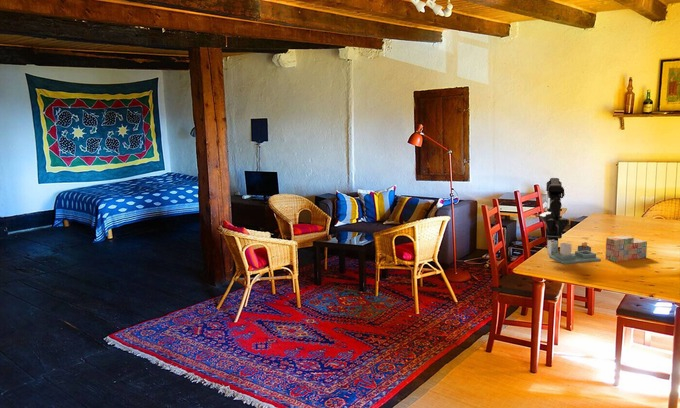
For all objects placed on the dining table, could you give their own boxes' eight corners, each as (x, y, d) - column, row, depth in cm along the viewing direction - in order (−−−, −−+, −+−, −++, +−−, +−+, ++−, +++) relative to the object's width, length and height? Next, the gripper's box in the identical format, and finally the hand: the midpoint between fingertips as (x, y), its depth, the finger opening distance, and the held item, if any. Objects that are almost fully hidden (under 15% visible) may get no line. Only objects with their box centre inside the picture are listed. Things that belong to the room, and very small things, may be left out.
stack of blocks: (637, 255, 299) (638, 233, 297) (646, 257, 293) (647, 236, 291) (605, 259, 293) (606, 237, 291) (613, 262, 287) (614, 239, 285)
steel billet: (547, 253, 308) (547, 240, 306) (553, 253, 308) (554, 239, 307) (551, 255, 304) (551, 241, 302) (557, 254, 305) (558, 241, 303)
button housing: (577, 250, 311) (577, 245, 311) (585, 250, 312) (585, 245, 312) (582, 252, 307) (583, 247, 306) (590, 252, 307) (591, 247, 307)
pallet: (549, 257, 300) (549, 241, 299) (584, 254, 304) (585, 238, 303) (563, 263, 287) (564, 247, 285) (600, 260, 290) (601, 244, 289)
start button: (580, 247, 310) (580, 242, 310) (585, 246, 311) (585, 241, 310) (583, 248, 307) (583, 243, 307) (588, 247, 308) (588, 242, 307)
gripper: (532, 205, 308) (532, 231, 311) (552, 211, 290) (551, 239, 293) (550, 203, 311) (549, 230, 313) (570, 209, 293) (569, 237, 295)
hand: (554, 234), depth 304 cm, fingers open, 9 cm apart
